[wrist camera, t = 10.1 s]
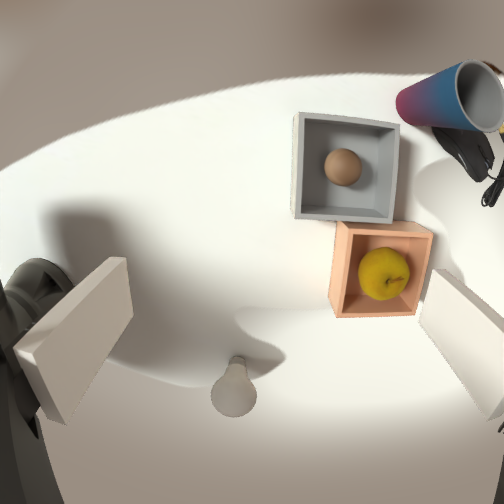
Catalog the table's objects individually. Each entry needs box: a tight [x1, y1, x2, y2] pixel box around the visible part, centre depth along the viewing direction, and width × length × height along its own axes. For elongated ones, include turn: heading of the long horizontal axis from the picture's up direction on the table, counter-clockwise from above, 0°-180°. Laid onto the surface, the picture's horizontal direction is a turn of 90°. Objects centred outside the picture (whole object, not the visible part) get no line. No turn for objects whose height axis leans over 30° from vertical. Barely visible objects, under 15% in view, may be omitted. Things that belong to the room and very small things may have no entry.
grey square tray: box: [290, 112, 400, 224], centre depth 33 cm, size 11×11×6 cm
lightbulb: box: [211, 357, 257, 417], centre depth 40 cm, size 6×6×11 cm
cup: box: [396, 59, 504, 133], centre depth 25 cm, size 7×7×15 cm
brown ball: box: [324, 148, 362, 187], centre depth 33 cm, size 4×4×4 cm
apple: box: [358, 247, 410, 301], centre depth 35 cm, size 6×6×8 cm
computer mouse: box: [432, 124, 504, 207], centre depth 31 cm, size 12×17×4 cm
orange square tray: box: [328, 220, 434, 318], centre depth 36 cm, size 11×11×6 cm
